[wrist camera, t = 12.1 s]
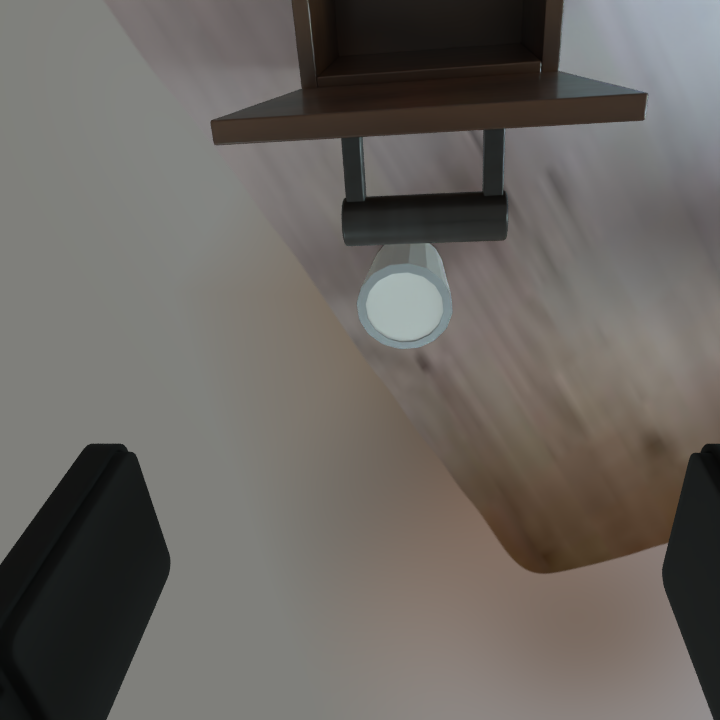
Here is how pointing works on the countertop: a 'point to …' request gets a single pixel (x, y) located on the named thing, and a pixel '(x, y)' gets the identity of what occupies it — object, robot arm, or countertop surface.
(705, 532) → the robot arm
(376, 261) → the shot glass
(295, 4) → the chest
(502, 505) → the countertop surface
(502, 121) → the lid
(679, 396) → the countertop surface
